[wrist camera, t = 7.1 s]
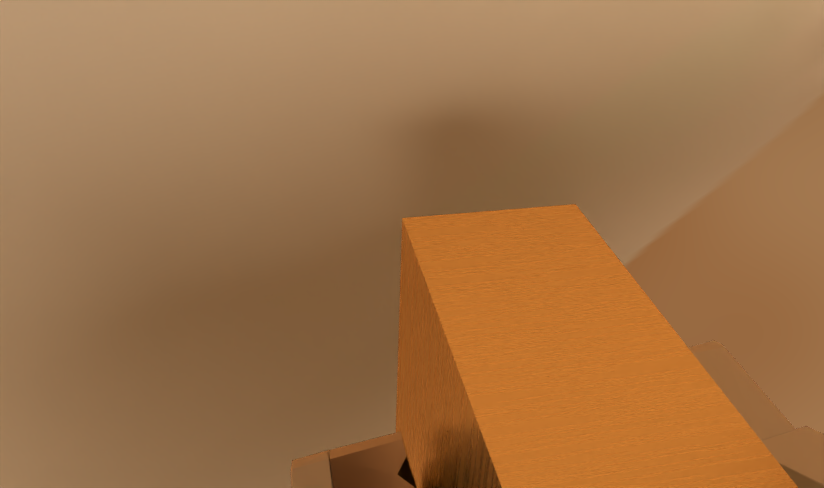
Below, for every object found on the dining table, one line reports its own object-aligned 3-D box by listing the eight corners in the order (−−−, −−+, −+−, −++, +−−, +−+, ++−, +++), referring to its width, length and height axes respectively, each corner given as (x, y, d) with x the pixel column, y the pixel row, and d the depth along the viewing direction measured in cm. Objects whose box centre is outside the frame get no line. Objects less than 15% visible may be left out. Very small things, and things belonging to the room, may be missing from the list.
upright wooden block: (529, 440, 12) (668, 757, 8) (394, 460, 12) (472, 807, 8) (574, 203, 10) (816, 510, 6) (402, 218, 9) (529, 561, 5)
